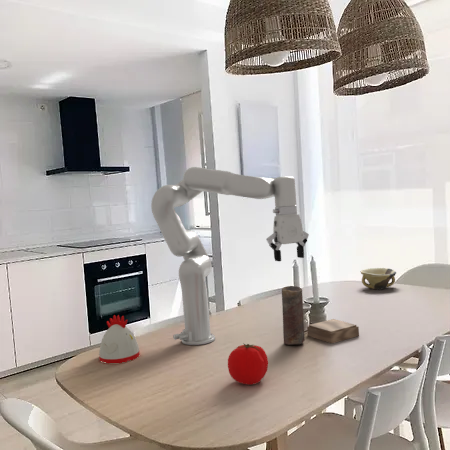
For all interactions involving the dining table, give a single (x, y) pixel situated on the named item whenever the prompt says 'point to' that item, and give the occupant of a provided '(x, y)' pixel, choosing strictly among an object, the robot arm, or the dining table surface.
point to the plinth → (332, 330)
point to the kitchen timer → (118, 343)
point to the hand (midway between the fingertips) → (289, 259)
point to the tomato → (248, 364)
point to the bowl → (378, 277)
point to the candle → (293, 315)
